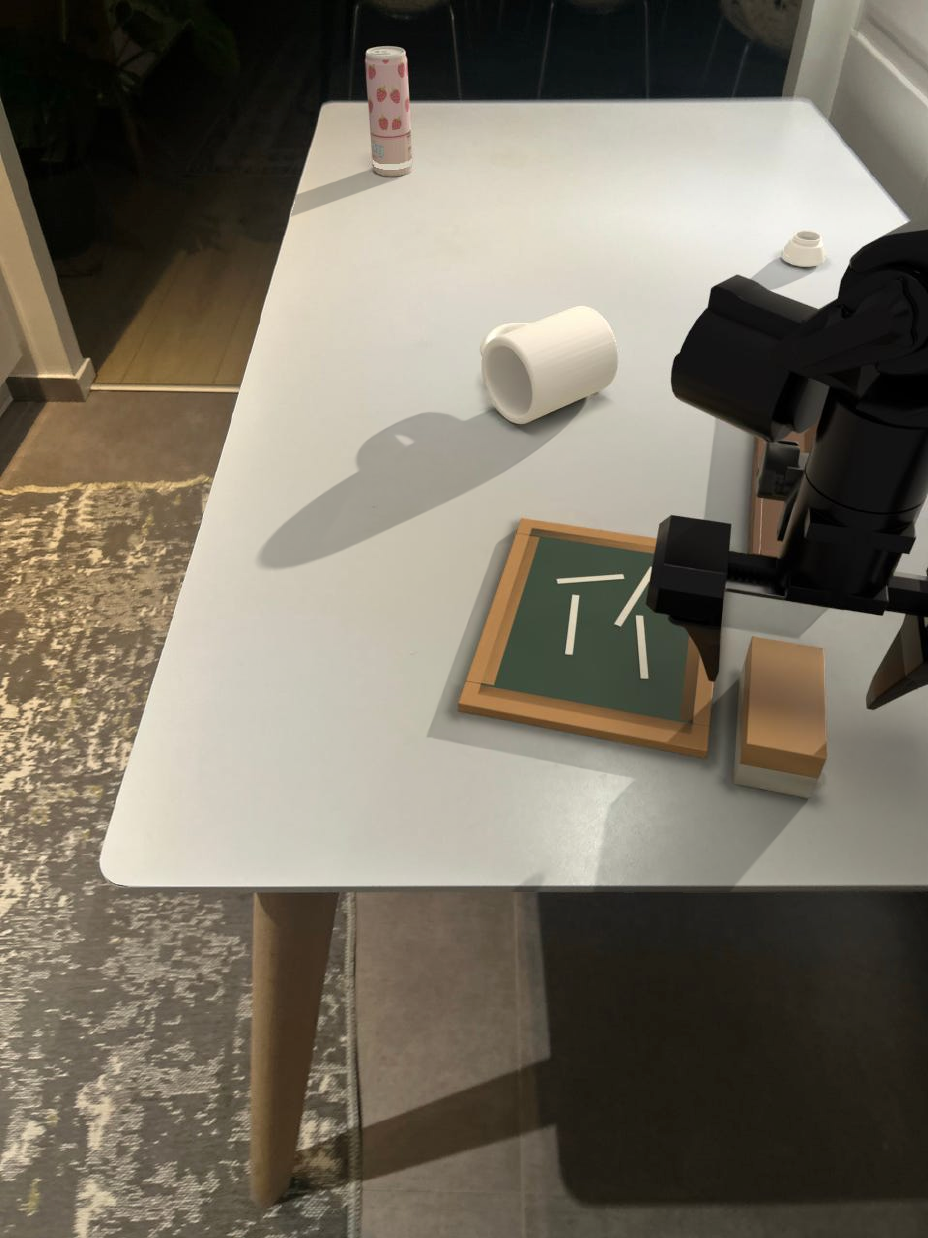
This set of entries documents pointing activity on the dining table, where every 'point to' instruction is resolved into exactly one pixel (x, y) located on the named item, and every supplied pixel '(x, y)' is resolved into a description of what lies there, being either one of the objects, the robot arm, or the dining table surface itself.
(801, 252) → the lidless jar
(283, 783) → the dining table surface
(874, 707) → the robot arm
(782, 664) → the eraser
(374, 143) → the beverage can
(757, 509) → the chalk tray
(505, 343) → the mug
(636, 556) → the chalkboard
